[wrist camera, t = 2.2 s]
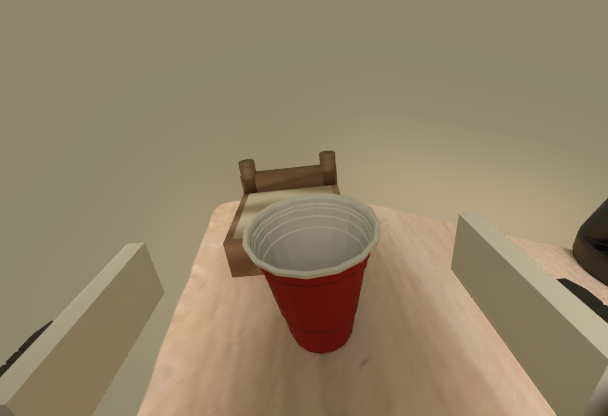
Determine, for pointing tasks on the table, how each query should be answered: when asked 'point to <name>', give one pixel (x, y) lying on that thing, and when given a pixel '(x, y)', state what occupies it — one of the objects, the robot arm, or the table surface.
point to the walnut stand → (273, 200)
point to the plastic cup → (314, 262)
